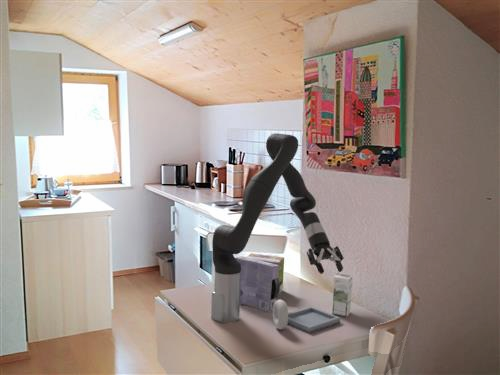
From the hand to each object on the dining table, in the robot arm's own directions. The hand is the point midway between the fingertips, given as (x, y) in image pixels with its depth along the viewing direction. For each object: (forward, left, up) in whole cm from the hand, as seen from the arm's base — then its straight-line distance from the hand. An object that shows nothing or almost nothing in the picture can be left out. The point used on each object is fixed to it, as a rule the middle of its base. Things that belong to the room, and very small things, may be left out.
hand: (331, 272), depth 197 cm
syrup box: (-2, -7, -14) cm, 16 cm away
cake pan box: (-23, +18, -14) cm, 32 cm away
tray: (-18, -6, -14) cm, 23 cm away
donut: (-31, -4, -14) cm, 34 cm away
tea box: (-9, +29, -14) cm, 33 cm away
